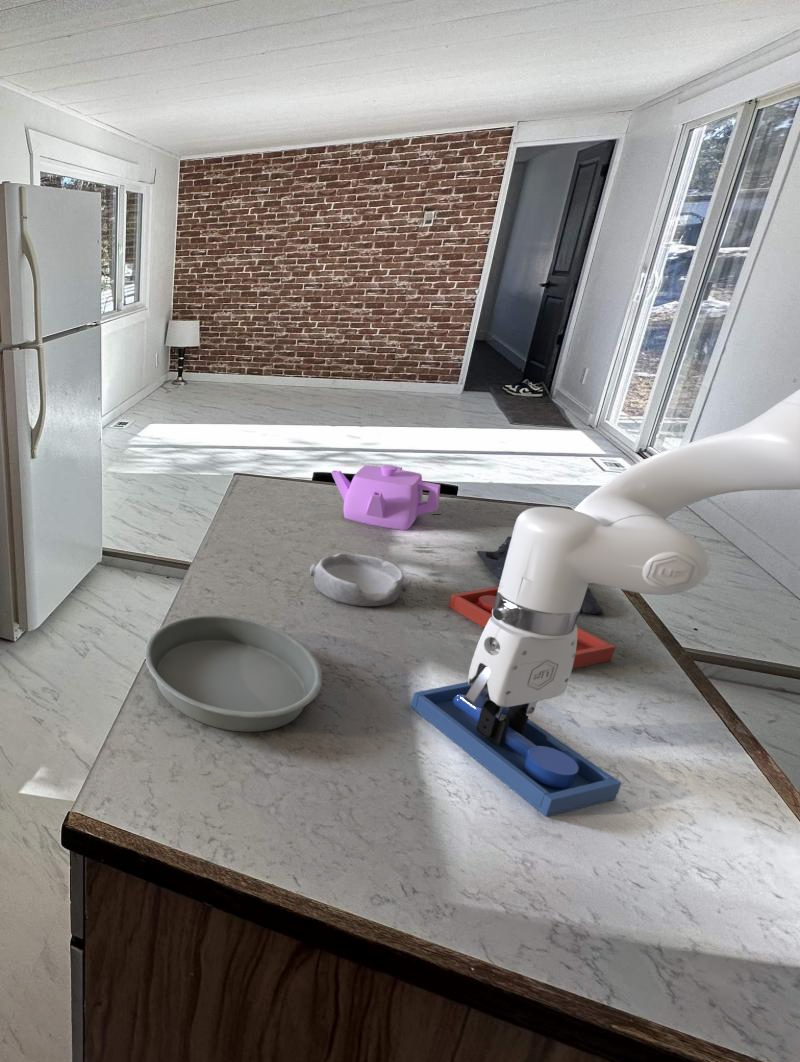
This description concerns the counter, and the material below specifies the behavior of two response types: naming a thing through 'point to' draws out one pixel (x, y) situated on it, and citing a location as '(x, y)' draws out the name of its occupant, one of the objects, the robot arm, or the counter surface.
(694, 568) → the robot arm
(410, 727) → the counter surface
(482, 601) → the red spoon
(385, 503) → the teakettle
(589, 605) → the dark slate chunk
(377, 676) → the counter surface
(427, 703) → the blue tray
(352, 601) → the dish
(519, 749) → the blue spoon
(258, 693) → the cake pan
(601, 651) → the red tray
